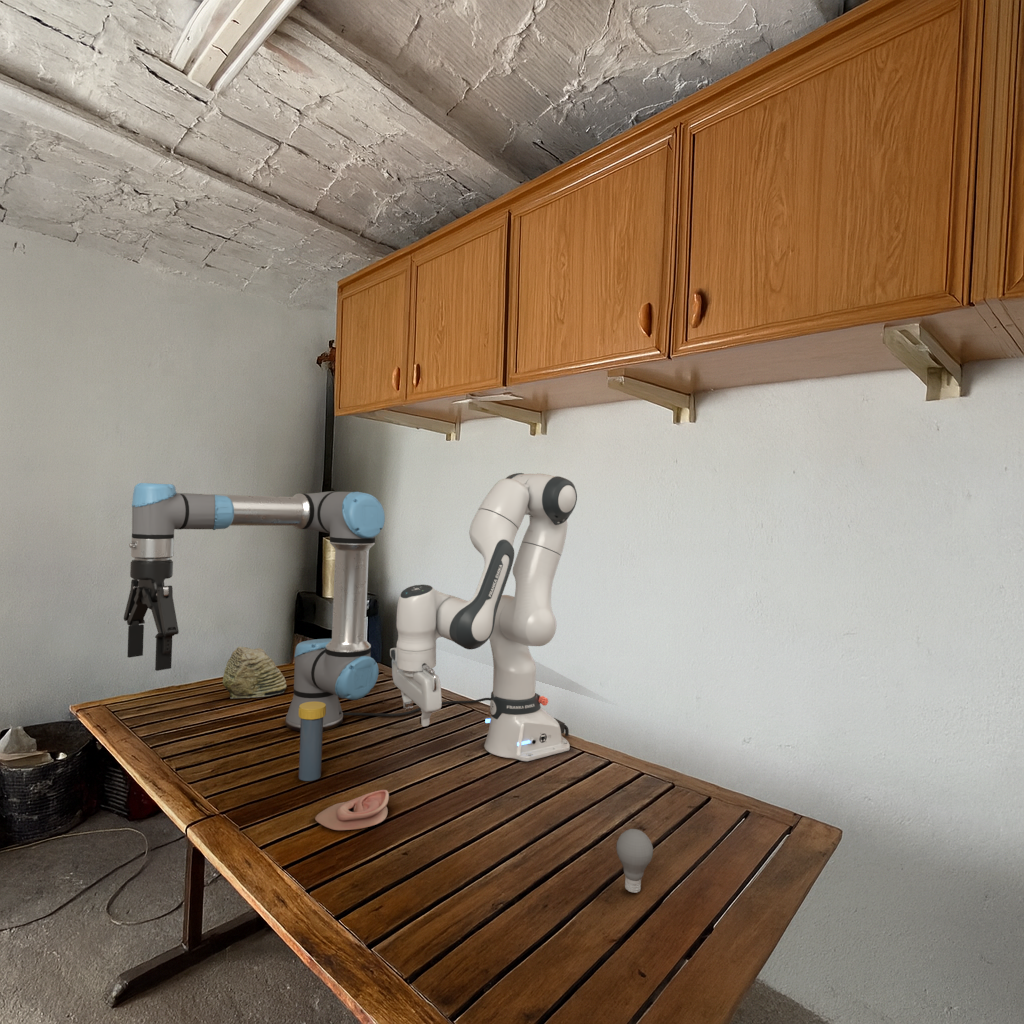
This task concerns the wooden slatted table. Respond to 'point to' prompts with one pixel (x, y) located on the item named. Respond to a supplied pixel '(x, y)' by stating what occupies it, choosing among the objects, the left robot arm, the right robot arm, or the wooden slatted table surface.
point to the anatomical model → (356, 812)
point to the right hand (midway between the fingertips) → (416, 717)
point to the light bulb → (634, 857)
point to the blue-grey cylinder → (310, 749)
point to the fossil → (252, 674)
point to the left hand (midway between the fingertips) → (148, 662)
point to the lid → (312, 710)
